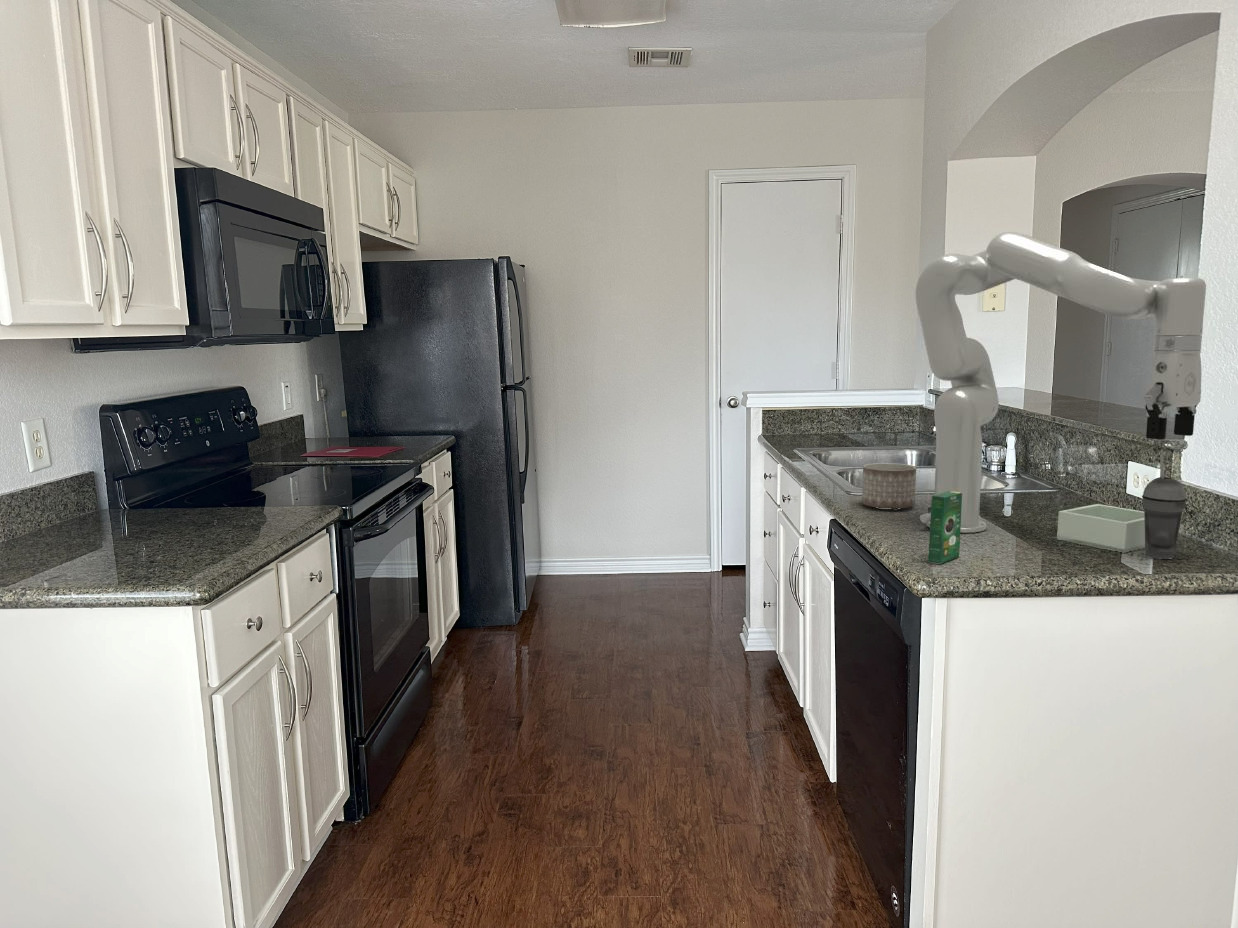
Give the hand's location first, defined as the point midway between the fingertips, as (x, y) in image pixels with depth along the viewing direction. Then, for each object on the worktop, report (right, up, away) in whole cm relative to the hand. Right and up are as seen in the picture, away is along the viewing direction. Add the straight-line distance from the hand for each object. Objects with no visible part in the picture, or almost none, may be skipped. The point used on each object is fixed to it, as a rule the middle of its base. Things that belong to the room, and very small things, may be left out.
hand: (1169, 436), depth 162 cm
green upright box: (-41, -24, +3) cm, 48 cm away
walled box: (-2, -21, +16) cm, 27 cm away
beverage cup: (0, -23, +3) cm, 24 cm away
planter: (-37, -16, +53) cm, 67 cm away
